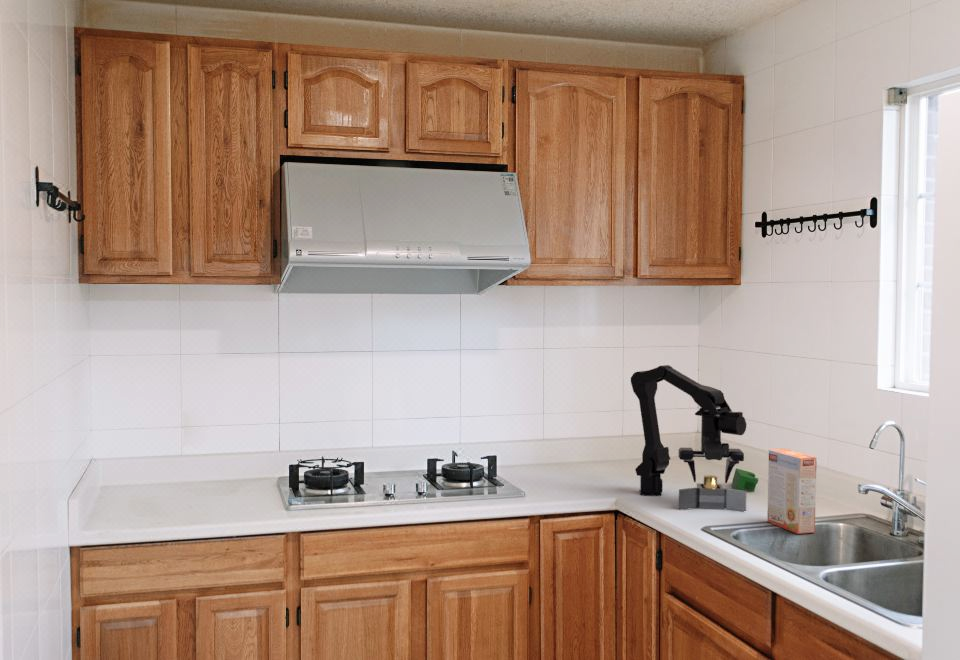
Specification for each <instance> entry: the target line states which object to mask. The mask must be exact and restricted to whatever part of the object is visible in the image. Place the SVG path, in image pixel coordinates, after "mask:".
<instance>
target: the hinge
mask: <svg viewBox="0 0 960 660" xmlns="http://www.w3.org/2000/svg"><path fill="white" fill-rule="evenodd" d="M747 491H748V490H743V491H742V490H735V489H734V488H727V487H724V486H723V485H722V483H717V489H716V488H704V483H698V482H697V483H696V487H690V488H689V487H688V488H679V489H678V510H680V509H683V510H689V509H688V508H692V509H697V508H698V507H699V508H703V509H705V510H706V509H707V510H708V509H709V510H731V509H732V511H737V510H738V512H739V511H740V512H744V511H746V512H747V502H748V501H747V497H748V496H747V494H748V493H747ZM699 508H698V509H699ZM724 508H726V509H724ZM703 509H702V510H703Z"/></svg>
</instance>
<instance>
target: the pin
mask: <svg viewBox="0 0 960 660" xmlns="http://www.w3.org/2000/svg"><path fill="white" fill-rule="evenodd" d="M703 484H704V488H716V489H717V484H718V476H717V475H712V474H711V475H709V474H706V475H704V476H703Z"/></svg>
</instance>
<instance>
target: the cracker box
mask: <svg viewBox="0 0 960 660" xmlns="http://www.w3.org/2000/svg"><path fill="white" fill-rule="evenodd" d="M767 470H768V478H767V481H768V482H767V519H766V520H767V522H768V523H770V524H772V525H775V526H777V527H780V528H782V529H784V530H787V531H789V532H792V533H794V534H796V535H801V534H814V533H815V532H816V499H817V497H816V495H817V493H816V492H817V457H816V456H813V455H810V454H805V453H801V452H799V451H798V452H797V451H795V450H790V449H787V448H777V449H776V448H775V449H774V448H773V449H768V469H767Z"/></svg>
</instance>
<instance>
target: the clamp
mask: <svg viewBox="0 0 960 660" xmlns="http://www.w3.org/2000/svg"><path fill="white" fill-rule="evenodd" d="M758 482H759V478H758V477H756V474H755V473H754V472H751V471H748V470H744V469H741V468H736V467H735V469H734V474H733V478H732V482H731V485H732V488H733V489H735V490H742V491H748V492H749V491H750V492H752V491H753V492H755V490H756V486H757V485H758V484H759V483H758Z"/></svg>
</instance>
